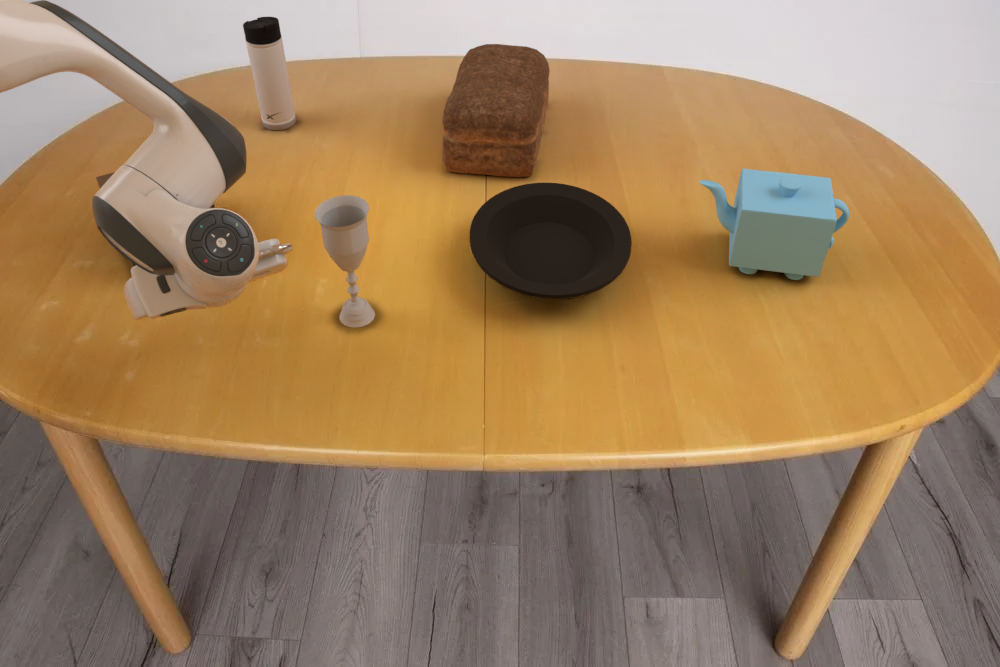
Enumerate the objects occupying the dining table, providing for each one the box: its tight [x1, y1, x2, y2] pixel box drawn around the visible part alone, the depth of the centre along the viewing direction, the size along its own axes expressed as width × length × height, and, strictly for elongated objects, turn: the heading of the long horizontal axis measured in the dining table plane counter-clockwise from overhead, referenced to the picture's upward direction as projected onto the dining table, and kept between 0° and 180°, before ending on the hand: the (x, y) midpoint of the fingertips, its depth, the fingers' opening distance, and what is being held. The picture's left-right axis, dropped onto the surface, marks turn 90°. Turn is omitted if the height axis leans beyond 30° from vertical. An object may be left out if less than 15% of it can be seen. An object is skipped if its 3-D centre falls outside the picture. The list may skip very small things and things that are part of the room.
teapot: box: [699, 168, 851, 281], centre depth 130 cm, size 22×11×14 cm, turn 78°
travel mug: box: [242, 16, 297, 131], centre depth 158 cm, size 6×7×20 cm
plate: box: [469, 182, 633, 300], centre depth 131 cm, size 28×24×6 cm
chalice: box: [314, 194, 376, 329], centre depth 118 cm, size 7×7×18 cm
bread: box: [441, 43, 551, 178], centre depth 157 cm, size 17×30×13 cm, turn 172°
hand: (205, 287), depth 118 cm, fingers closed
